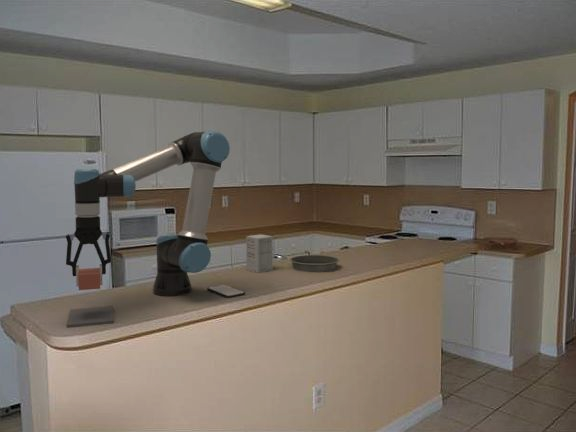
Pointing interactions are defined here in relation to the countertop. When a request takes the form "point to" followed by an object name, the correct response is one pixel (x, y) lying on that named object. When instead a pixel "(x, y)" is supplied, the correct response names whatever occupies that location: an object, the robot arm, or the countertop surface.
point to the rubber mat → (90, 316)
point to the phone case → (225, 291)
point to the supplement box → (259, 253)
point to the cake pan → (314, 263)
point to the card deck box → (89, 278)
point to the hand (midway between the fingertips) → (89, 284)
